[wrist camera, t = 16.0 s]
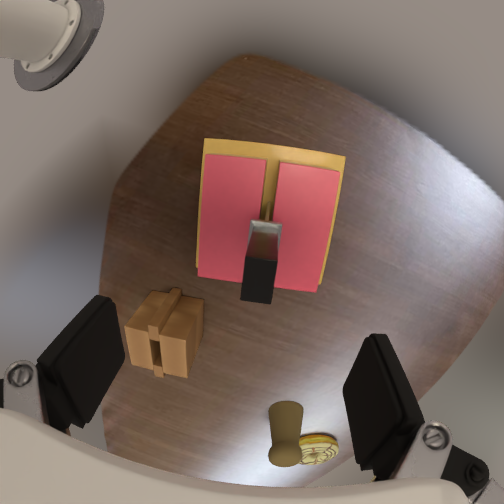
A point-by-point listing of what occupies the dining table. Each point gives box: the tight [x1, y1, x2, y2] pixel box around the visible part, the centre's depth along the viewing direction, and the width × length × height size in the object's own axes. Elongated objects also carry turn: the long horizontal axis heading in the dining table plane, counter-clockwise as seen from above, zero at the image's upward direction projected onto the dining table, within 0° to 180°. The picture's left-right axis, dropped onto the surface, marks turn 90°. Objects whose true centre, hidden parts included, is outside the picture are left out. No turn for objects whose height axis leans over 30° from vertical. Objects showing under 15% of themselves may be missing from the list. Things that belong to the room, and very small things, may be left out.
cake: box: [196, 138, 346, 292], centre depth 28 cm, size 15×15×5 cm
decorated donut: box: [298, 435, 338, 465], centre depth 45 cm, size 10×11×4 cm
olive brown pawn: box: [268, 401, 303, 467], centre depth 37 cm, size 6×6×11 cm
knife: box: [240, 201, 282, 304], centre depth 23 cm, size 2×4×16 cm, turn 173°
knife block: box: [125, 288, 204, 378], centre depth 32 cm, size 7×8×8 cm
